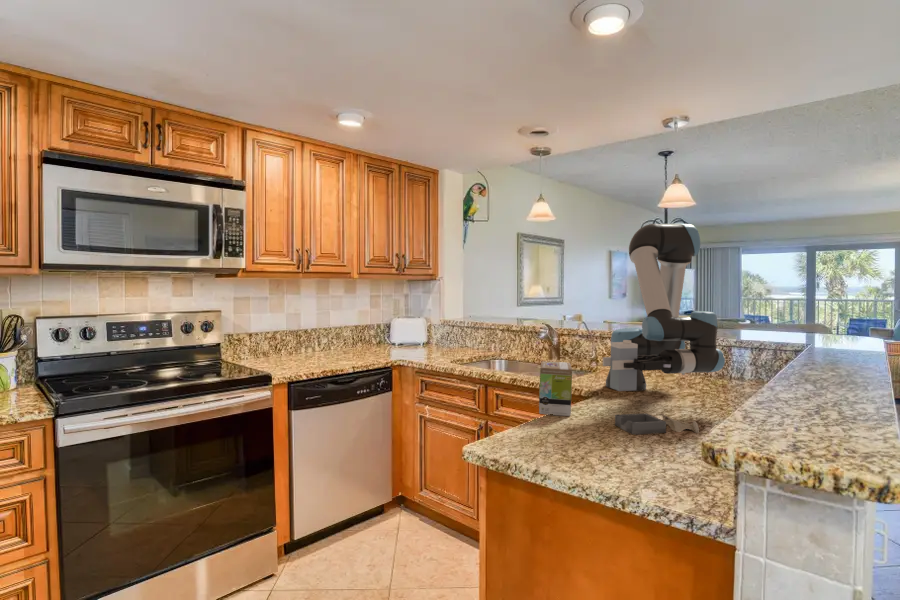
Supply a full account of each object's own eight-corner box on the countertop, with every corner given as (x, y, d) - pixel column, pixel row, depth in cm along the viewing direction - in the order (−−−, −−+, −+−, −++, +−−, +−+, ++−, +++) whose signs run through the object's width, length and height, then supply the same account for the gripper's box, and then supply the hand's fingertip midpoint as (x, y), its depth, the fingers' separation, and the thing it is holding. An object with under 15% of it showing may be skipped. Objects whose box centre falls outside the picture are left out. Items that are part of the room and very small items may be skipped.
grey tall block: (609, 387, 152) (611, 339, 151) (627, 386, 153) (628, 339, 153) (618, 391, 147) (619, 341, 147) (636, 390, 149) (637, 341, 148)
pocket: (614, 425, 140) (615, 414, 140) (646, 423, 142) (646, 413, 142) (632, 434, 131) (632, 423, 131) (665, 432, 133) (666, 421, 133)
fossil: (678, 435, 132) (679, 422, 132) (657, 423, 143) (658, 411, 143) (702, 434, 133) (702, 422, 133) (679, 423, 144) (680, 411, 144)
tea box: (571, 416, 149) (572, 368, 148) (538, 414, 151) (539, 367, 150) (569, 405, 163) (570, 361, 163) (539, 403, 165) (540, 360, 165)
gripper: (694, 379, 145) (623, 382, 140) (657, 367, 163) (593, 369, 158) (695, 354, 144) (624, 356, 140) (658, 345, 162) (593, 346, 158)
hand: (608, 363), depth 149 cm, fingers closed on grey tall block, 5 cm apart
